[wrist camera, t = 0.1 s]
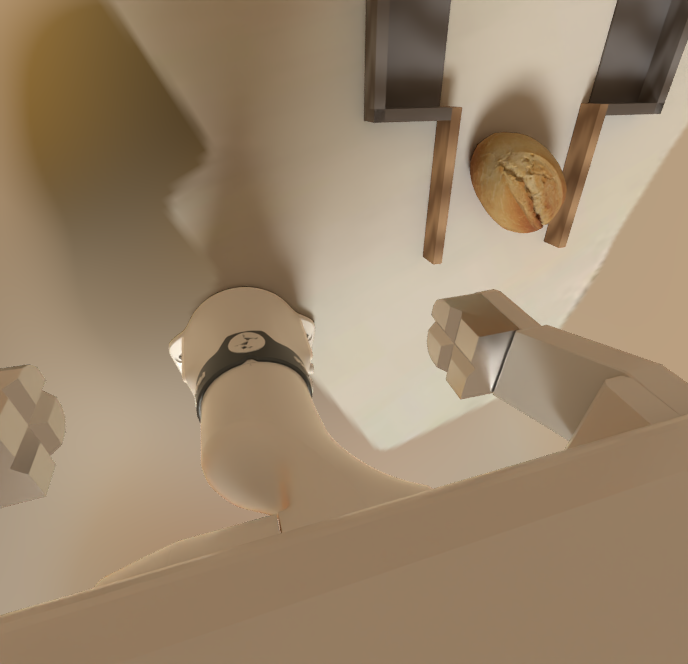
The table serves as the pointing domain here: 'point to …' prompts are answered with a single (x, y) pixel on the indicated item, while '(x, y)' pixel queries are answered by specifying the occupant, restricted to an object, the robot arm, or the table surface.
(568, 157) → the box
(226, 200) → the table surface
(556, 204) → the bread roll
